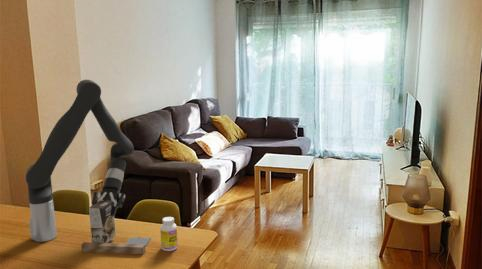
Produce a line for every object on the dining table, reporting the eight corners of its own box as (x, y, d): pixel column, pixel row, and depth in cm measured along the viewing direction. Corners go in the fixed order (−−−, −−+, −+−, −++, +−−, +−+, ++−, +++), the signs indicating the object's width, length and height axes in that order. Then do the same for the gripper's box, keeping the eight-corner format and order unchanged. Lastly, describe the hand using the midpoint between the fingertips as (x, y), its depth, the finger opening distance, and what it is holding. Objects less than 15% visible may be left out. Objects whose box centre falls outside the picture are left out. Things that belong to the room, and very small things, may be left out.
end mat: (121, 249, 163) (121, 248, 163) (130, 238, 173) (130, 237, 173) (142, 250, 162) (142, 249, 162) (150, 239, 172) (150, 238, 172)
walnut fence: (82, 251, 162) (81, 245, 161) (84, 249, 164) (84, 242, 164) (143, 254, 159) (142, 247, 158) (145, 251, 161) (145, 244, 161)
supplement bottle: (169, 253, 159) (168, 223, 157) (158, 249, 163) (156, 219, 161) (181, 246, 165) (179, 217, 162) (169, 242, 169) (168, 214, 166)
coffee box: (105, 245, 164) (102, 208, 161) (91, 244, 165) (88, 207, 162) (116, 235, 173) (113, 200, 170) (103, 234, 174) (100, 199, 171)
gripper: (95, 176, 175) (84, 211, 166) (126, 177, 174) (117, 212, 164) (101, 183, 181) (91, 218, 172) (131, 184, 180) (123, 219, 171)
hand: (104, 215), depth 168 cm, fingers closed on coffee box, 6 cm apart
